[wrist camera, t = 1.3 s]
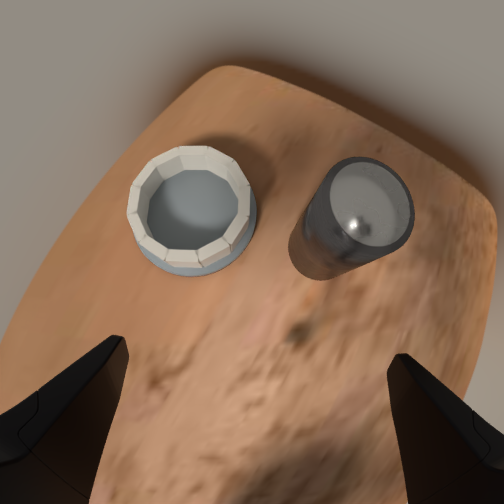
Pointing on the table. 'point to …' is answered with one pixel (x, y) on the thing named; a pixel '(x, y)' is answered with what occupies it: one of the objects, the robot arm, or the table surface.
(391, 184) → the lens
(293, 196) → the table surface
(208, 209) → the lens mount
